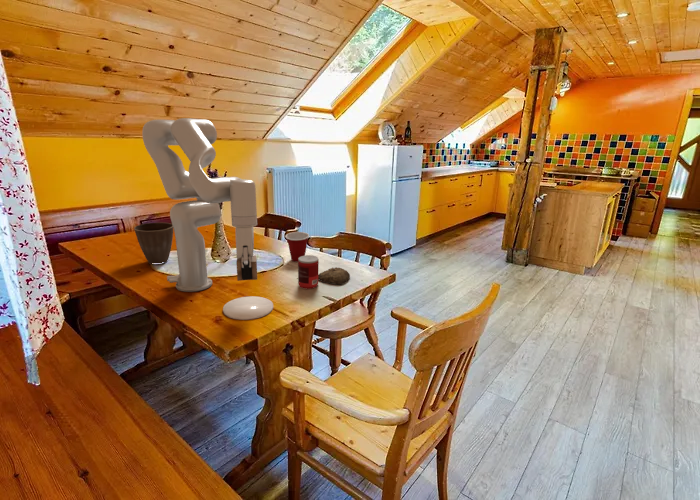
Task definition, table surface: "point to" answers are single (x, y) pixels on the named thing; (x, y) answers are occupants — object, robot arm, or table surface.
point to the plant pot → (155, 241)
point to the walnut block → (253, 265)
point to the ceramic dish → (248, 308)
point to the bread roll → (334, 276)
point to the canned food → (308, 271)
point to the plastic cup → (297, 244)
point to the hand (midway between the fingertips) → (247, 274)
